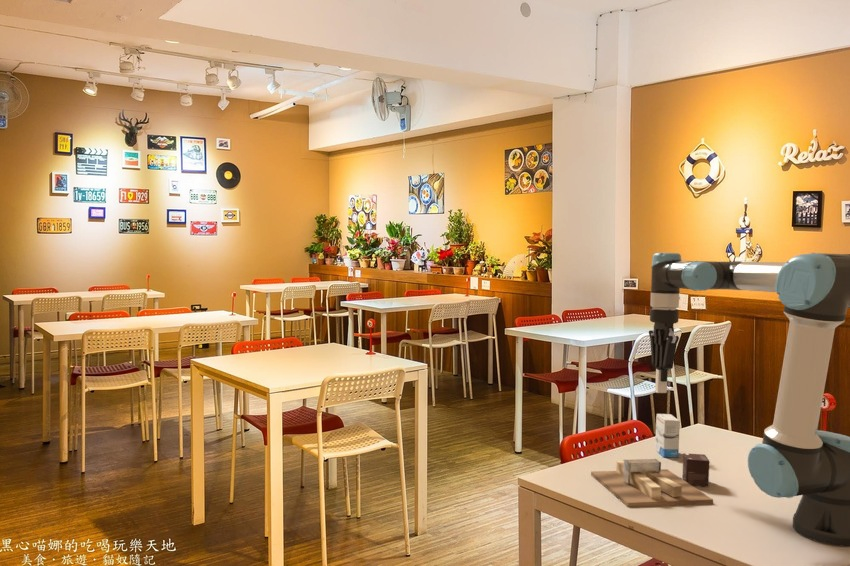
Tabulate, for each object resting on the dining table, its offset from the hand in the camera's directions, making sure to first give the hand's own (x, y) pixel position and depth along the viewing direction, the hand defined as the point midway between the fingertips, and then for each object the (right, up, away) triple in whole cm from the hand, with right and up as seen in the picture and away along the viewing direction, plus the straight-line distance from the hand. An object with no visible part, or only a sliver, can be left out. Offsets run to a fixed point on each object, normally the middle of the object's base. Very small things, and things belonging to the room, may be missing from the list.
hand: (661, 392), depth 197 cm
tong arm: (-4, -24, -8) cm, 25 cm away
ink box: (+10, -23, +25) cm, 36 cm away
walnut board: (-6, -25, -7) cm, 26 cm away
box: (+9, -25, -2) cm, 27 cm away
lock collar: (-7, -23, -6) cm, 25 cm away
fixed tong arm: (-9, -25, -7) cm, 27 cm away
